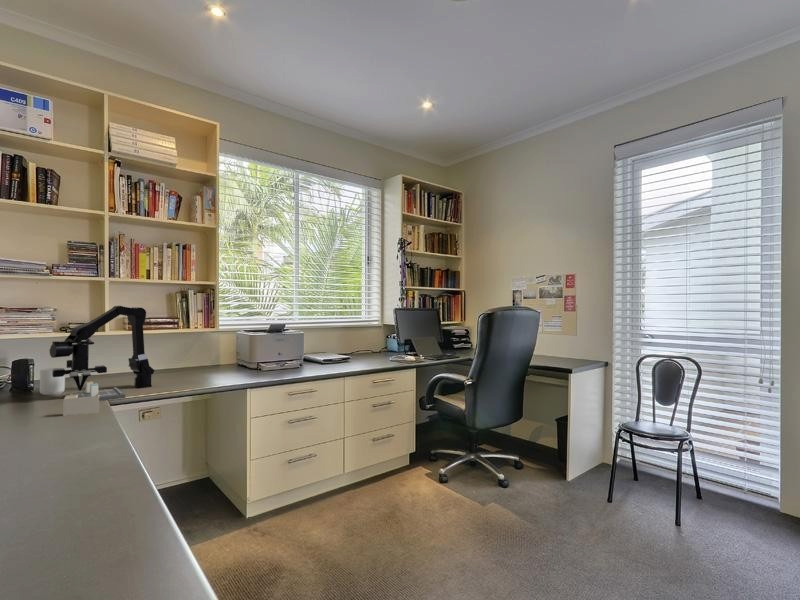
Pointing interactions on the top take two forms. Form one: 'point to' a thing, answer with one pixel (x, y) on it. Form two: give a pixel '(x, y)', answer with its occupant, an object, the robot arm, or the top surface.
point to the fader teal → (94, 389)
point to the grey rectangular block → (88, 385)
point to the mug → (51, 382)
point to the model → (80, 405)
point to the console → (102, 394)
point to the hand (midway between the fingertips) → (79, 390)
